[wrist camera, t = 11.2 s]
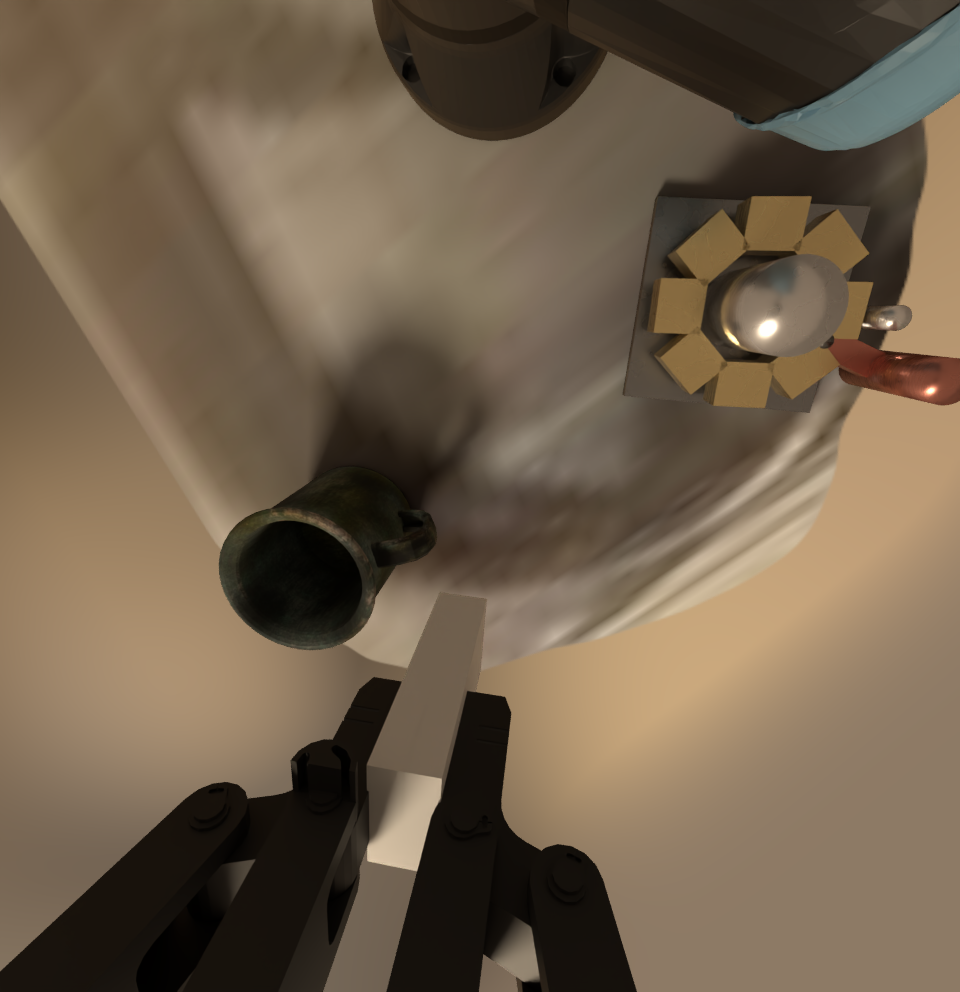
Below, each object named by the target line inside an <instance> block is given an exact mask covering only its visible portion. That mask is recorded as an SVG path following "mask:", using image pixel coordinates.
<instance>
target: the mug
mask: <svg viewBox="0 0 960 992" xmlns="http://www.w3.org/2000/svg"><path fill="white" fill-rule="evenodd" d="M413 532H414V533H413ZM436 540H437V532H436V527H435V524H434V522H433V520H432V517H431V515H430V514H429V513H427V512H425V511H422V510H411V509H410V507H409V504H408V502H407V500H406V498H405V497H404V495H403V494H402V492H401V491H400V490H399V489H398V487H397V486H395V485H394V484H393V483H392V482H391V481H390V480H388V479H387V478H386V477H384V476H383V475H381V474H379V473H377V472H375V471H372V470H369V469H366V468H361V467H340V468H335V469H332V470H329V471H327V472H325V473H323V474H322V475H320V476H319V477H317V478H316V479H314V480H313V481H311V482H310V483H308V484H307V485H305V486H304V487H302V488H301V489H299V490H298V491H296V492H295V493H293V494H292V495H290V496H289V497H287V498H286V499H284V500H283V501H281V502H280V503H279V504H277V505H276V506H274V507H273V508H271V509H266V510H262V511H259V512H256V513H254V514H252V515H250V516H248V517H246V518H244V519H243V520H242V521H241V522H239V523H238V524H237V525H236V526H235V527H234V528H233V529H232V530H231V532H230V533H229V535H228V536H227V538H226V540H225V542H224V544H223V546H222V549H221V552H220V559H219V575H220V580H221V585H222V587H223V590H224V593H225V595H226V597H227V599H228V601H229V603H230V605H231V606H232V607H233V609H234V610H235V612H236V613H237V614H238V616H239V617H241V618H242V620H243V621H244V622H245V623H246V624H247V625H249V626H250V627H251V628H252V629H253V630H255V631H256V632H257V633H259V634H260V635H262V636H264V637H265V638H267V639H269V640H271V641H274V642H275V643H278V644H281V645H284V646H287V647H291V648H296V649H303V650H321V649H326V648H331V647H334V646H337V645H340V644H342V643H344V642H346V641H347V640H349V639H351V638H352V637H354V636H355V635H356V634H357V633H358V632H359V631H361V629H362V628H363V627H364V626H365V624H366V623H367V622H368V620H369V618H370V616H371V614H372V611H373V608H374V604H375V598H376V596H377V594H378V593H379V591H380V590H381V588H382V587H383V585H384V584H385V582H386V581H387V579H388V577H389V576H390V574H391V573H392V571H393V570H394V568H395V567H396V565H401V564H405V563H409V562H412V561H416V560H418V559H420V558H422V557H423V556H425V555H427V554H428V553H429V552H430V550H431V549H432V548H433V547H434V546H435V544H436Z"/></svg>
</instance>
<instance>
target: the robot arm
mask: <svg viewBox="0 0 960 992" xmlns="http://www.w3.org/2000/svg"><path fill="white" fill-rule="evenodd" d="M372 3H373V10H374V15H375V20H376V24H377V28H378V32H379V35H380V38H381V41H382V44H383V47H384V49H385V52H386V54H387V57H388V59H389V61H390V63H391V65H392V67H393V69H394V71H395V72H396V74H397V76H398V77H399V79H400V80H401V82H402V83H403V85H404V86H405V88H406V89H407V91H408V92H409V94H410V95H411V97H412V98H413V99H414V101H415V102H416V103H417V104H418V105H419V106H420V108H421V109H422V110H423V111H424V112H425V113H426V114H427V115H429V116H430V117H431V118H432V119H433V120H435V121H436V122H437V123H439V124H440V125H442V126H443V127H445V128H447V129H449V130H451V131H453V132H455V133H457V134H460V135H462V136H465V137H469V138H473V139H479V140H488V141H498V140H507V139H512V138H517V137H520V136H524V135H526V134H529V133H532V132H534V131H536V130H538V129H540V128H542V127H544V126H545V125H547V124H549V123H550V122H552V121H553V120H555V119H556V118H557V117H559V116H560V115H561V114H562V113H564V112H565V111H566V110H567V109H568V108H569V107H570V106H571V105H572V104H573V103H574V102H575V101H576V100H577V99H578V98H579V96H580V95H581V94H582V93H583V92H584V90H585V89H586V88H587V86H588V85H589V84H590V82H591V81H592V79H593V78H594V76H595V74H596V73H597V71H598V69H599V67H600V66H601V64H602V62H603V60H604V58H605V56H606V53H607V51H608V52H610V53H612V54H614V55H616V56H618V57H620V58H623V59H625V60H627V61H629V62H631V63H633V64H635V65H637V66H639V67H641V68H643V69H645V70H647V71H649V72H651V73H654V74H656V75H658V76H660V77H662V78H664V79H666V80H668V81H670V82H672V83H674V84H676V85H678V86H680V87H682V88H685V89H687V90H689V91H691V92H693V93H695V94H697V95H699V96H701V97H703V98H705V99H707V100H709V101H711V102H713V103H716V104H718V105H720V106H722V107H724V108H726V109H728V110H730V111H732V112H734V118H735V120H736V121H737V122H738V123H740V124H741V125H742V126H744V127H746V128H748V129H753V130H754V129H758V130H762V131H767V130H771V131H773V132H775V133H778V134H780V135H782V136H785V137H787V138H790V139H792V140H794V141H797V142H799V143H802V144H804V145H806V146H809V147H811V148H814V149H817V150H823V151H831V150H848V149H851V148H860V147H864V146H867V145H870V144H873V143H875V142H878V141H880V140H882V139H885V138H887V137H889V136H891V135H894V134H896V133H898V132H900V131H902V130H903V129H905V128H907V127H909V126H911V125H912V124H914V123H916V122H917V121H919V120H921V119H922V118H924V117H926V116H927V115H929V114H930V113H932V112H933V111H935V110H936V109H938V108H940V107H941V106H942V105H944V104H945V103H947V102H948V101H949V100H951V99H952V98H953V97H954V96H956V95H958V94H959V93H960V0H372ZM486 601H487V599H484V598H476V597H469V596H462V595H455V594H448V593H441V592H440V593H439V596H438V598H437V600H436V603H435V605H434V607H433V610H432V612H431V615H430V617H429V619H428V622H427V624H426V626H425V629H424V631H423V633H422V636H421V638H420V640H419V643H418V645H417V648H416V650H415V652H414V655H413V657H412V659H411V662H410V664H409V666H408V669H407V671H406V674H405V676H404V678H403V681H402V682H401V681H395V680H389V679H382V678H375V677H374V678H372V679H371V680H370V681H369V682H368V683H366V684H365V685H364V686H363V687H362V688H360V689H359V691H358V693H357V695H356V697H355V698H354V700H353V702H352V704H351V708H349V710H348V712H347V714H346V715H345V717H344V721H342V723H341V725H340V727H339V729H338V731H337V733H336V734H335V736H334V738H333V740H325V739H324V740H320V741H317V742H313V743H310V744H309V745H307V746H306V747H304V748H302V749H301V750H299V751H298V752H297V754H296V755H295V756H294V757H293V758H292V760H291V770H292V783H293V790H291V791H289V792H286V793H283V794H279V795H273V796H265V797H257V798H249V799H247V796H246V792H245V791H244V790H243V789H242V788H241V787H240V786H239V785H237V784H232V783H228V782H223V783H214V784H211V785H208V786H206V787H203V788H201V789H198V790H197V791H196V792H194V793H193V794H191V795H190V796H189V797H187V798H186V799H185V800H184V801H183V802H181V803H180V804H179V805H178V806H177V807H176V808H175V809H174V810H173V811H172V812H171V813H170V814H169V815H167V816H166V817H165V818H164V819H163V820H162V821H161V822H160V823H159V824H158V825H157V826H156V827H155V828H154V829H153V830H151V831H150V832H149V833H148V834H147V835H146V836H145V837H144V838H143V839H142V840H141V841H140V842H139V843H138V844H136V845H135V846H134V847H133V848H132V849H131V850H130V851H129V852H128V853H127V854H126V855H125V856H124V857H122V858H121V859H120V861H118V862H117V863H116V864H115V865H114V866H113V867H112V868H111V869H110V870H109V871H107V872H106V873H105V874H104V875H103V876H102V877H101V878H100V879H99V880H98V881H97V882H96V883H95V884H94V885H93V886H91V887H90V888H89V889H88V890H87V891H86V892H85V893H84V894H83V895H82V896H81V897H80V898H79V899H77V900H76V901H75V902H74V903H73V904H72V905H71V906H70V907H69V908H68V909H67V910H66V911H65V912H63V914H62V915H60V916H59V917H58V918H57V919H56V920H55V921H54V922H53V923H52V924H51V925H50V926H49V927H47V928H46V929H45V930H44V931H43V932H42V933H41V934H40V935H39V936H38V937H37V938H36V939H35V940H33V941H32V942H31V943H30V944H29V945H28V946H27V947H26V948H25V949H24V950H23V951H22V952H21V953H20V954H18V956H16V957H15V958H14V959H13V960H12V961H11V962H10V963H9V964H8V965H7V966H6V967H5V968H3V969H2V970H1V971H0V992H323V990H324V987H325V984H326V981H327V978H328V975H329V972H330V969H331V967H332V964H333V961H334V958H335V955H336V952H337V949H338V946H339V943H340V941H341V938H342V935H343V932H344V929H345V926H346V923H347V920H348V917H349V914H350V911H351V909H352V906H353V903H354V900H355V897H356V894H357V891H358V886H359V879H360V874H359V873H360V872H359V868H360V865H361V862H362V859H363V857H364V854H365V851H366V848H368V849H367V850H368V851H367V852H368V853H367V855H368V861H370V862H375V863H380V864H384V865H389V866H394V867H399V868H404V869H409V870H414V871H417V874H416V878H415V882H414V886H413V890H412V894H411V897H410V901H409V905H408V909H407V913H406V918H405V921H404V925H403V929H402V933H401V937H400V941H399V945H398V949H397V952H396V956H395V960H394V964H393V968H392V973H391V976H390V981H389V984H388V988H387V992H479V986H480V977H481V969H482V960H483V954H484V955H486V956H487V957H488V958H490V959H491V960H493V961H494V962H496V963H497V964H499V965H500V966H502V967H503V968H505V969H506V970H508V971H509V972H510V973H512V974H513V975H515V976H516V979H517V987H518V992H637V991H636V987H635V984H634V981H633V978H632V974H631V971H630V968H629V964H628V961H627V958H626V954H625V951H624V948H623V944H622V941H621V938H620V935H619V931H618V928H617V924H616V921H615V918H614V915H613V911H612V908H611V905H610V901H609V898H608V895H607V892H606V888H605V885H604V881H603V879H602V877H601V875H600V872H599V870H598V869H597V866H596V865H595V864H594V863H593V861H592V860H591V859H590V858H589V857H588V856H587V855H586V854H585V853H583V852H581V851H579V850H578V849H576V848H574V847H572V846H566V845H559V844H557V845H553V846H550V847H546V848H545V849H543V850H542V851H541V850H539V849H537V848H536V847H534V846H532V845H530V844H529V843H527V842H525V841H524V840H522V839H521V838H520V837H518V836H517V835H516V834H515V833H514V832H513V831H512V830H511V829H510V828H509V826H508V824H507V822H506V821H505V819H504V816H503V812H502V809H501V798H502V789H503V780H504V772H505V763H506V754H507V745H508V737H509V728H510V720H511V711H510V709H509V706H508V703H507V701H506V698H505V697H502V696H496V695H490V694H484V693H477V692H476V689H477V684H478V679H479V675H480V670H481V659H482V647H483V636H484V624H485V613H486Z"/></svg>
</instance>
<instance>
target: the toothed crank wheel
mask: <svg viewBox="0 0 960 992" xmlns="http://www.w3.org/2000/svg"><path fill="white" fill-rule="evenodd" d="M811 198H812V196H752V197H750V198H748V199H747V200H745V201H744V202H742V203H740V204H739V205H737V211H736V216H735V222H734V223H733V222H732V221H731V219H730V218H729V217H728V215H727V214H726V213H725V211H724V210H723V209H721V210H719V211H718V212H716V213H715V214H713V215H712V216H710V217H709V218H708V219H707V220H706V221H705V222H704V223H702V224H701V225H700V226H699V227H698V228H697V229H696V230H695V231H694V232H693V233H692V234H690V235H689V236H688V237H687V238H686V239H685V240H684V241H683V242H682V243H681V244H680V245H678V246H677V247H676V248H675V249H674V250H673V251H672V252H671V253H670V254H669V255H667V256H668V257H669V258H670V260H671V261H672V262H673V264H674V265H675V266H676V267H677V269H678V270H679V271H680V272H681V274H682V275H683V276H684V277H685V279H683V278H660V279H657V280H655V281H654V284H653V292H652V299H651V306H650V314H649V321H648V329H647V332H652V333H677V335H676V336H675V337H674V338H673V339H672V340H670V341H669V342H668V343H667V344H666V345H664V346H663V347H662V348H661V349H660V350H659V351H657V352H656V353H655V354H654V356H655V357H656V359H657V360H658V361H659V362H660V364H661V365H662V366H663V367H664V368H665V370H666V371H667V372H668V373H669V374H670V376H671V377H672V378H673V379H674V380H675V382H676V383H677V384H678V385H679V387H680V388H681V389H682V390H684V391H685V392H687V393H689V394H690V395H691V394H692V393H694V392H695V391H696V390H698V389H699V388H700V387H701V386H703V385H704V384H705V383H706V385H705V391H704V396H703V400H704V401H706V402H708V403H710V404H711V405H713V406H733V407H753V408H765V406H766V401H767V397H768V392H769V388H770V386H771V388H772V389H773V390H774V392H775V393H776V394H778V395H781V396H784V397H786V398H789V399H794V398H795V397H796V396H798V395H799V394H801V393H802V392H803V391H805V390H806V389H807V388H809V387H810V386H811V385H813V384H814V383H816V382H817V381H818V380H820V379H821V378H822V377H824V376H825V375H827V374H828V373H829V372H831V371H832V370H833V369H835V368H836V367H837V366H838V367H839V375H840V377H841V379H842V380H843V381H844V382H846V383H848V384H851V385H855V386H859V387H864V388H868V389H873V390H877V391H881V392H886V393H889V394H894V395H898V396H903V397H907V398H911V399H915V400H920V401H924V402H928V403H932V404H937V405H949V404H953V403H956V402H958V401H960V359H959V358H949V357H940V356H930V355H921V354H911V353H902V352H892V351H883V350H877V349H875V348H873V347H871V346H869V345H867V344H865V343H863V342H861V341H859V340H857V339H858V337H859V334H860V330H861V326H862V323H863V319H864V315H865V312H866V308H867V304H868V301H869V297H870V293H871V289H872V286H873V282H847V284H848V290H849V300H848V307H847V311H846V314H845V316H844V319H843V321H842V322H841V324H840V326H839V327H838V329H837V330H836V332H835V333H834V334H833V335H832V336H831V337H830V338H829V339H828V340H827V341H826V342H825V343H823V344H822V345H821V346H819V347H818V348H816V349H814V350H812V351H810V352H808V353H805V354H802V355H799V356H794V357H778V356H772V355H767V354H763V355H762V356H760V357H759V358H758V359H756V360H739V359H723V357H722V356H721V355H720V354H719V352H718V351H717V350H716V349H715V347H714V346H713V345H712V344H711V342H710V341H709V340H708V339H707V337H706V336H705V335H704V334H703V332H702V331H701V330H700V329H701V323H702V317H703V311H704V305H705V299H706V293H707V287H708V284H709V283H710V282H711V281H712V280H713V279H714V278H715V277H717V276H718V275H719V274H720V273H721V272H722V271H724V270H725V269H726V268H727V267H728V266H729V265H731V264H732V263H733V262H734V261H735V260H736V259H737V258H739V257H740V256H741V255H765V256H778V257H779V259H782V258H786V257H790V256H794V255H800V254H813V255H818V256H822V257H824V258H826V259H829V260H830V261H832V262H833V263H834V264H835V265H837V266H838V267H839V269H840V270H841V271H842V273H843V274H844V273H845V272H847V271H848V270H849V269H850V268H852V267H853V266H854V265H855V264H857V263H858V262H859V261H861V260H862V259H863V258H864V257H866V256H867V255H868V254H869V252H868V251H867V250H866V248H865V247H864V245H863V244H862V242H861V241H860V240H859V238H858V237H857V235H856V234H855V233H854V231H853V230H852V228H851V227H850V226H849V224H848V223H847V221H846V220H845V219H844V217H843V216H842V214H841V213H840V212H839V210H838V209H836V210H833V211H831V212H828V213H825V214H823V215H820V216H818V217H816V218H815V219H813V220H812V221H811V222H810V223H809V224H808V225H806V220H807V216H808V211H809V207H810V202H811ZM805 225H806V226H805Z"/></svg>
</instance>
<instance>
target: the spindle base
mask: <svg viewBox="0 0 960 992" xmlns="http://www.w3.org/2000/svg"><path fill="white" fill-rule="evenodd" d="M744 201H745V200H725V199H704V198H683V197H662V196H658V197H657V198H656V199H655V204H654V210H653V216H652V222H651V228H650V234H649V240H648V246H647V252H646V258H645V264H644V270H643V275H642V281H641V287H640V293H639V299H638V305H637V311H636V317H635V323H634V329H633V335H632V341H631V347H630V353H629V359H628V365H627V371H626V377H625V383H624V389H623V395H624V396H631V397H642V398H653V399H664V400H675V401H686V402H697V403H708V402H706V401H704V400H703V396H704V391H705V385H706V383H705V384H704V385H703V386H701V387H700V388H699V389H698V390H696V391H695V392H694V393H692V394H691V395H690V394H689V393H687V392H685V391H684V390H682V389H681V388H680V387H679V385H678V384H677V383H676V382H675V380H674V379H673V378H672V377H671V376H670V374H669V373H668V372H667V371H666V370H665V368H664V367H663V366H662V365H661V364H660V362H659V361H658V360H657V359H656V357H655V356H654V354H655V353H656V352H657V351H659V350H660V349H661V348H662V347H663V346H664V345H666V344H667V343H668V342H669V341H670V340H672V339H673V338H674V337H675V336H676V335H677V333H652V332H647V329H648V321H649V314H650V306H651V299H652V292H653V284H654V281H655V280H657V279H660V278H683V279H685V277H684V276H683V275H682V274H681V272H680V271H679V270H678V269H677V267H676V266H675V265H674V264H673V262H672V261H671V260H670V258H669V257H668V256H667V255H669V254H670V253H671V252H672V251H673V250H674V249H675V248H676V247H677V246H678V245H680V244H681V243H682V242H683V241H684V240H685V239H686V238H687V237H688V236H689V235H690V234H692V233H693V232H694V231H695V230H696V229H697V228H698V227H699V226H700V225H701V224H702V223H704V222H705V221H706V220H707V219H708V218H709V217H710V216H712V215H713V214H715V213H716V212H718V211H719V210H721V209H723V210H724V211H725V213H726V214H727V215H728V217H729V218H730V219H731V221H732V222H733V223H734V222H735V216H736V211H737V205H739V204H740V203H742V202H744ZM836 209H838V210H839V212H840V213H841V214H842V216H843V217H844V219H845V220H846V221H847V223H848V224H849V226H850V227H851V228H852V230H853V231H854V233H855V234H856V235H857V237H858V238H859V240H860V241H861V239H862V235H863V232H864V229H865V225H866V222H867V219H868V215H869V212H870V209H871V207H870V206H850V205H829V204H810V207H809V211H808V216H807V220H806V225H808V224H809V223H810V222H811V221H812V220H813V219H815V218H816V217H818V216H820V215H823V214H825V213H828V212H831V211H833V210H836ZM806 225H805V226H806ZM852 269H853V267H852V268H850V269H849V270H848V271H847V272H845V273H844V274H843V273H842V271H841V270H840V269H839V267H838V266H837V265H835V264H834V263H833V262H832V261H830V260H829V259H826V258H824V257H822V256H818V255H813V254H800V255H794V256H790V257H786V258H782V259H779V257H778V256H765V255H741V256H740V257H739V258H737V259H736V260H735V261H734V262H733V263H732V264H731V265H729V266H728V267H727V268H726V269H725V270H724V271H722V272H721V273H720V274H719V275H718V276H717V277H715V278H714V279H713V280H712V281H711V282H710V283H709V284H708V287H707V293H706V299H705V305H704V311H703V317H702V323H701V329H700V330H701V331H702V332H703V334H704V335H705V336H706V337H707V339H708V340H709V341H710V342H711V344H712V345H713V346H714V347H715V349H716V350H717V351H718V352H719V354H720V355H721V356H722V357H723V359H739V360H756V359H758V358H759V357H760V356H762V355H763V354H767V355H772V356H778V357H794V356H799V355H802V354H805V353H808V352H810V351H812V350H814V349H816V348H818V347H819V346H821V345H822V344H823V343H825V342H826V341H827V340H828V339H829V338H830V337H831V336H832V335H833V334H834V333H835V332H836V330H837V329H838V327H839V326H840V324H841V322H842V321H843V319H844V316H845V314H846V311H847V307H848V300H849V290H848V284H847V282H849V279H850V276H851V272H852ZM911 318H912V312H911V309H910V308H909V307H907V306H904V305H893V306H867V308H866V312H865V315H864V319H863V323H862V326H861V329H869V330H893V331H897V330H901V329H903V328H905V327H906V326H907V325H908V324H909V322H910V321H911ZM818 383H819V380H818V381H817V382H816V383H814V384H813V385H811V386H810V387H809V388H807V389H806V390H805V391H803V392H802V393H801V394H799V395H798V396H796V397H795V398H794V399H789V398H786V397H784V396H781V395H778V394H776V393H775V392H774V390H773V389H772V388H771V386H770V388H769V392H768V397H767V401H766V406H765V408H763V409H774V410H785V411H795V412H806V413H810V409H811V406H812V403H813V399H814V396H815V393H816V389H817V386H818ZM708 404H710V403H708ZM752 408H753V407H752Z"/></svg>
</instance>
